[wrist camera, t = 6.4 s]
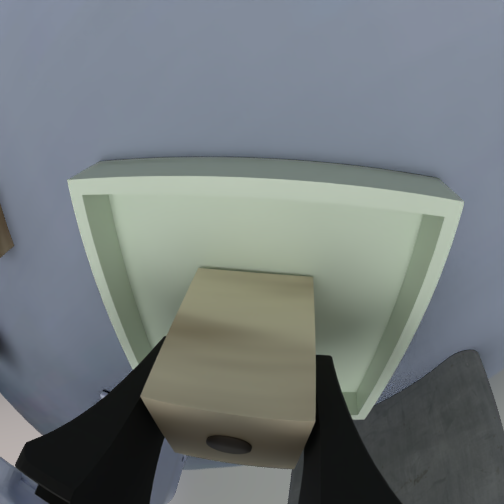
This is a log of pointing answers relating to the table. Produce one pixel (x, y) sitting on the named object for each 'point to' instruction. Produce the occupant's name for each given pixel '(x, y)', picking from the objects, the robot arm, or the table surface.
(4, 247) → the oak block
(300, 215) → the tray
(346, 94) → the table surface
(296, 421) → the birch block
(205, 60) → the table surface
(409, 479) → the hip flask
